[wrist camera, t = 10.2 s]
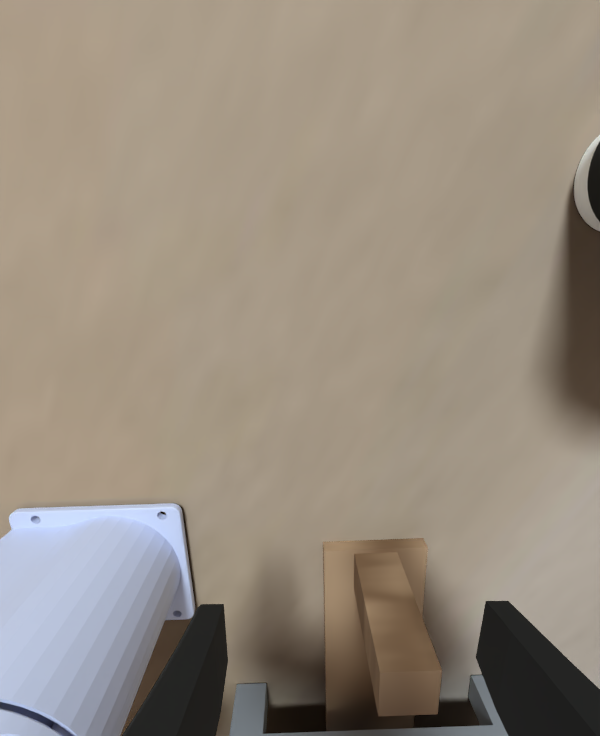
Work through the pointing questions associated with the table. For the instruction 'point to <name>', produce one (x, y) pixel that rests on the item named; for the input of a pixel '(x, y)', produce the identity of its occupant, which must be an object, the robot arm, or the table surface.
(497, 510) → the table surface
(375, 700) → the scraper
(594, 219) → the dixie cup
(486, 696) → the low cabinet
